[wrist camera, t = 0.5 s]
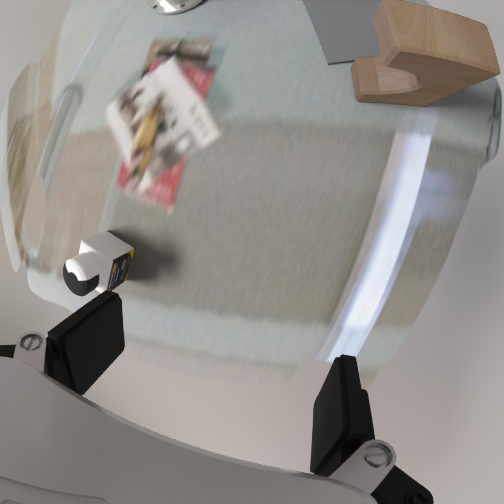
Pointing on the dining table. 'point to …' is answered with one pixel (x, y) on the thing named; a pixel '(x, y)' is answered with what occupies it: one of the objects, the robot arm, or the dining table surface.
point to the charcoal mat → (345, 28)
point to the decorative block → (423, 55)
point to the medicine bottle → (98, 264)
